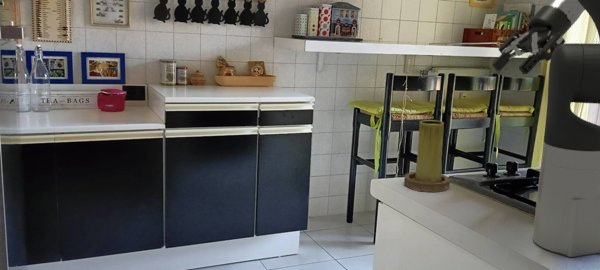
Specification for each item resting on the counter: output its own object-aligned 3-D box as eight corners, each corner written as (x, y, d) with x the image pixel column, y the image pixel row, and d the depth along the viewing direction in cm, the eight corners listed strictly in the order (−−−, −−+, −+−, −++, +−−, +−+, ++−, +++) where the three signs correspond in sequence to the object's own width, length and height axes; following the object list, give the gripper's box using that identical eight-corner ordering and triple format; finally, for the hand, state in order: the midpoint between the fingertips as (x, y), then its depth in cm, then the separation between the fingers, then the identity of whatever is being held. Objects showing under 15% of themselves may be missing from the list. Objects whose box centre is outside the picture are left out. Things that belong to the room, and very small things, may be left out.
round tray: (457, 189, 112) (458, 182, 112) (418, 193, 109) (418, 186, 109) (433, 177, 121) (434, 170, 121) (396, 180, 118) (396, 173, 118)
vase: (445, 181, 116) (449, 121, 113) (437, 188, 111) (441, 125, 108) (419, 177, 119) (422, 118, 116) (410, 184, 114) (413, 122, 111)
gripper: (524, 5, 116) (478, 56, 115) (574, 2, 102) (522, 59, 101) (541, 29, 118) (496, 78, 117) (591, 29, 105) (541, 85, 104)
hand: (508, 69), depth 109 cm, fingers open, 8 cm apart
